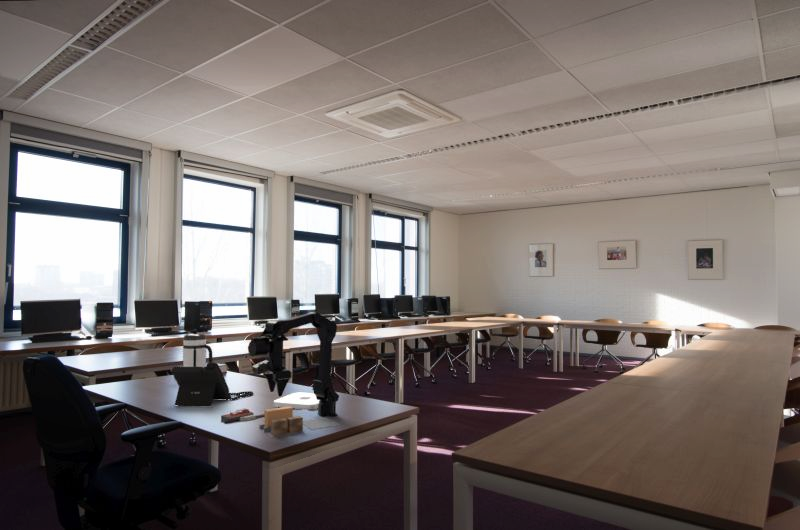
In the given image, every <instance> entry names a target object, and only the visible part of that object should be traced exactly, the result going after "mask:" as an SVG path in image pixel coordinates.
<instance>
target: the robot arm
mask: <svg viewBox="0 0 800 530" xmlns="http://www.w3.org/2000/svg"><path fill="white" fill-rule="evenodd" d="M310 324H311V325H312V326H313V328H315V329H316V335H317V337H318V340H319V356H318V357H319V360H318V376H317V378H316V379H313V380H312V385H313V386H312V391H313V393H314V394H315V395H316V398H317V400H319V404H318V409H317V415H318V416H321V417H322V418H324V417H326V418H328V417H335V416H338V413H337V411H336V408H337V407H336V406H337V403H336V402H338V401H339V398H340V395H339V394H338V393H337V392H336V391H335V387H334V382H333V379H332V377H331V368H332V350H333V347H332V346H333V341H334V339H335V337H336V335H337V330H338V326H337V323H336V322H335V321H334V320H330V319H328V318H327V317H326V316H323V315H322V314H321V313H319V312H317V311H309V312H307V313H304V314H301V315H297V316H295V317H291V318H290V317H289V318H287V319H273V320H269V321H267V323H266V325H265V327H264V329H263V331H262V332H261V334H260V336H259V337H251V338H250V341H249V344H248V346H247V350H248V355H250V357H256V356H257V357H258V356H264V355H266V356H265V360H263V361H260V362H258V363H256V364H254V365H252V369H253V372H254V374H255V375H257V376H260V375H262V376H263V377H265V378H266V380H267V384H268V387H269V392H271V393H273V392H275V388H276V391H277V395H278V397H283V393H284V392H285V389H286V388H287V385H288V383H289V380H291V378H292V377H293V375H292V374H293V373H292V371H291V370H289V369H287V368H286V366H284V360H285V359H286V356H285V355H284V341H285V342H286V341H289V338H288V337H287V336H285V334H288V333H289V332H290V331H291V330H293V329H296V328H299V327H302V326H305V325H310Z"/></svg>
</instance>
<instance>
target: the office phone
mask: <svg viewBox="0 0 800 530" xmlns="http://www.w3.org/2000/svg"><path fill="white" fill-rule="evenodd" d="M171 374H172V376H173V378H174V380H175V381H176V382H177V385H178V390H177V394H176V398H175V403H174V406H175V405H178V406H177V407H188V406H211V407H212V404H213V399H226V400H225V401H228V399H230V401H236V400H235V399H237V400H239V399H241V398H240V397H242V398H247V397H246V396H248V397H251V396H253V395H254V391H251V390H250V391H249V390H248V391H239V392H230V389H229V386H228V384H227V380H226V378H225V377H224V373H223V372H222V370H221V367H220V365H219V364H218V363H217V362H214V361H212V362H209V361H208V362H206V367H204V368H203V367H183V366H173V368H172V370H171ZM244 393H245V394H244ZM240 394H242V395H240ZM231 395H234V397H232V396H231ZM235 395H236V396H235ZM238 398H239V399H238ZM231 399H232V400H231Z"/></svg>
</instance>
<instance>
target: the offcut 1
mask: <svg viewBox="0 0 800 530" xmlns="http://www.w3.org/2000/svg"><path fill="white" fill-rule="evenodd" d="M284 434H287V420H286V419H285V418H283V419H277V420H271V435H273V436H276V437H280V436H279V435H282V436H285V435H284ZM287 435H288V434H287Z"/></svg>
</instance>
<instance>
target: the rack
mask: <svg viewBox="0 0 800 530" xmlns="http://www.w3.org/2000/svg"><path fill="white" fill-rule="evenodd" d="M258 426H259V427H258V429H259V430H261V431H263V432H264V433H265V434H266V435H268V436H269V437H271V438H275V437H276V438H277V436H273V435H271V426H268V427H265V423H261V424H259V425H258ZM303 432H306V430H305V429H303V431H301V432H300V433H303ZM297 433H299V432H295V433H288V432H287V434H284V435H279V436H278V437H282V436H286V435H291V434H292V435H293V434H297Z"/></svg>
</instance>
